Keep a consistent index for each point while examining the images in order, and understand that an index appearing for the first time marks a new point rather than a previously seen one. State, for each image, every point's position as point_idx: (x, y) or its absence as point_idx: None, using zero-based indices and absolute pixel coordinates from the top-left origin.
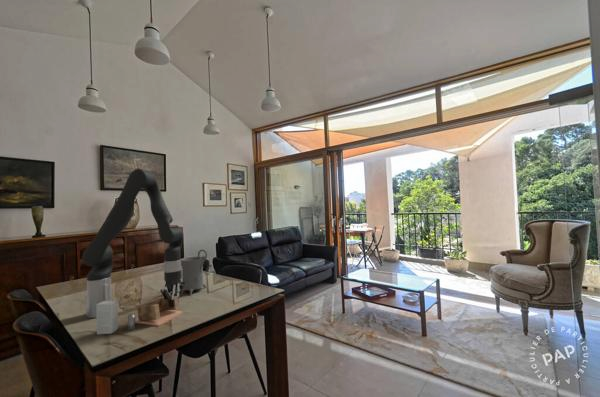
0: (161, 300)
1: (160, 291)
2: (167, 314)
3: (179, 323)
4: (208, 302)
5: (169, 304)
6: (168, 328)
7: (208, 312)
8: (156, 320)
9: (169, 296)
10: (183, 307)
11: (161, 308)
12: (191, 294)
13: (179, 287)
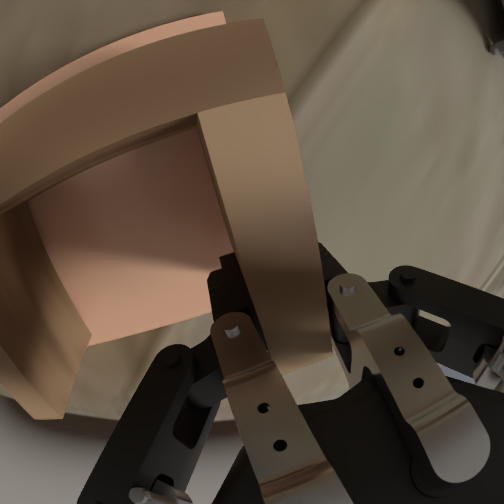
0: (198, 124)
1: (78, 498)
2: (180, 251)
3: None
4: (445, 252)
5: (213, 294)
6: (118, 388)
7: (337, 366)
8: (78, 290)
9: (203, 425)
10: (361, 181)
11: (187, 128)
12: (494, 54)
13: (467, 339)
